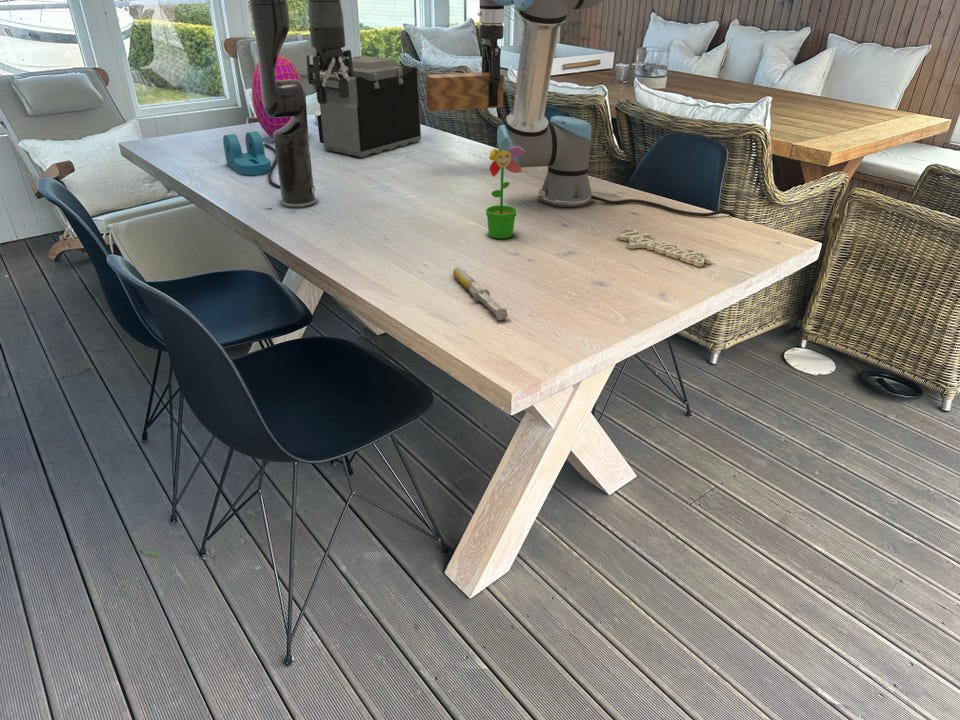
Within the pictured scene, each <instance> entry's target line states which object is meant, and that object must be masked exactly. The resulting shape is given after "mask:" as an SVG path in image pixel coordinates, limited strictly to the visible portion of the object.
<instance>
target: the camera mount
mask: <svg viewBox="0 0 960 720" xmlns="http://www.w3.org/2000/svg"><path fill="white" fill-rule="evenodd" d="M222 140H223V141H222V143H223V149H224V150H223V151H224V156H225V161H226V165H227V166H228V167H230V168H231V169H232V170H234V171H236V172H237V173H238V174H239V175H244V176H260V175H265V174H268V173H269V170H270V169H271V166H272V164H271V159H270V158H268V157H267V156H266V153H265V145H264V141H263V139H262V136H261V134H260V132H258V131H247V132H246V133H245V146H246V152H243V151H242V150H243V149H242V146H241V142H240V140H239V138H238V135H236V134H235V133H231V134H224V135H223V138H222Z"/></svg>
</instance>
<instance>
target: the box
mask: <svg viewBox="0 0 960 720" xmlns="http://www.w3.org/2000/svg"><path fill="white" fill-rule="evenodd" d="M504 76H505V75H504V74H503V73H501V72H500V83H498V102H497V106H489V85H488V82H490V74H489V72H482V71H481V72H460V73H437V74H435V73H434V74H425V91H426V108H427V109H428V110H430V112H446V111H460V110H461V111H463V110H464V111H465V110H478V109H479V110H480V109H495V108H497V109H498V108H504V84H505V83H504V81H505V79H504V78H505V77H504Z"/></svg>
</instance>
